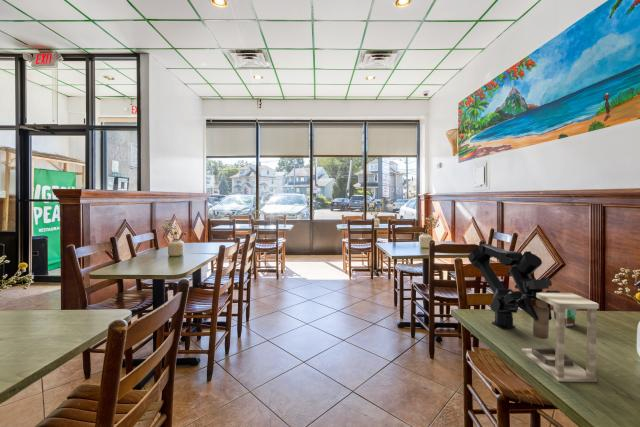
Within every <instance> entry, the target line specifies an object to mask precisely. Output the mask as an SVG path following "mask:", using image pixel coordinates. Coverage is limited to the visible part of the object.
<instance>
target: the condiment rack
mask: <svg viewBox="0 0 640 427" xmlns="http://www.w3.org/2000/svg"><path fill="white" fill-rule="evenodd" d="M536 297H537V298H539V299H541V300H543V301H545V302H547V303H549V304H550V306H552V307H553V306H555V307H556V320H555V348H554V347H553V348H550V347H549V348H548V347H546V348H544V347H542V348H541V347H531V348H521V352H522V353H523V354H524V355H525V356H527V357H528V358H529V359H531V360H532V361H533V362H534V363H535V364H536V365H538V366H539V367H540V368H542V370H544V371H545V372H546V373H547V374H549V375H550V376H551V377H552V378H553V379H555V380H556V381H557V382H572V383H573V382H576V383H577V382H581V383H582V382H583V383H585V382H588V383H589V382H590V383H593V382H594V383H595V382H596V383H597V382H598V378H597V377H596V368H597V367H596V363H597V360H596V359H597V328H598V325H597V324H598V322H597V320H598V318H597V317H598V310H599V309H600V308H599V306H600V304H599V303H597V302H595V301H593V300H590V299H589V298H585V297H584V296H581V295H578V294H576V293H573V292H560V293H545V292H540V293H536ZM565 309H577V310H587V312H586V314H587V315H586V354H585V355H586V356H585V357H586V359H585V360H586V361H585V369H584V368H583V367H581V366H579V365H578V364H577V363H575V361H574V360H573V359H572V358H570V357H569V356H568V355H566V354H565V340H566V339H565V337H566V336H565V335H566V334H565V333H566V331H565V330H566V327H565Z"/></svg>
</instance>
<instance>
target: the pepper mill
mask: <svg viewBox="0 0 640 427" xmlns="http://www.w3.org/2000/svg"><path fill="white" fill-rule="evenodd" d="M533 309H534V311H535V313H536V315H537V317H538V320H537V321H536V320H534V319H533V318H532V320H533V321H532V336H534V338H537V339H539V340H548V339H549V333H550V332H549V328H550V320H549V308H548V307H547V302H545V301H543V300H541V299H536V300H535V305H533Z"/></svg>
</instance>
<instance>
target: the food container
mask: <svg viewBox="0 0 640 427" xmlns="http://www.w3.org/2000/svg"><path fill="white" fill-rule="evenodd" d="M552 307H553V319H554V320H555V321H556V307H555V306H553V305H552ZM577 310H578V309H565V328H574V327H575V326H576V317H577V316H576V315H577Z"/></svg>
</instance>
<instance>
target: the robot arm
mask: <svg viewBox="0 0 640 427" xmlns="http://www.w3.org/2000/svg"><path fill="white" fill-rule="evenodd" d="M467 258H468V261H469V262H470V264H471V265H472V266H473V267H474V268H476V269H478V270H479V271H480V273H481V274H482V276H483V277H484V280H485V281H486V283H487V284H488V287H489V288H490V290H491V292H492V293H493V299H492V300H493V301H492V302H491V303H490V306H489V307H490V310H491V311H493V312H494V321H491V324H493V325H495V326H497V327H498V328H500V329H502V330H505V329H514V328H516V327H517V326H516V325H514V317H513V314H515V313H516V314H517V313H518V310H519V308H520V309H521V310H522V311H523V312H525V314H527V315H528V316H530V318H532V320H533V319H534V320H536V321H537V320H538V317H537V315H536V313H535V311H534V306H532V301H533V300H535V301H536V299H539V298H537V297H536V293H543V291H544V289H546V291H545V292H544V293H561V291H560V290H557V289H551V290H550V289H549V288H550V287H552V285H553V283H552V281H551V279H550V278H549V277H546V276H545V277H541V278H540V279H535V278H532V276H531V275H532V274H533V273H534V272H536V270H537V269H538V268H540V267H541V265H542V264H543V261H542V259H541V257H539V256H537V254H534V253H532V251H530V250H529V251H524V253H522V252H520V251H516V250H515V251H514V250H512V251H511V250H505V249H503V248H500V247H497V246H494V245H493V244H490V243H486V244H485V243H482V244H480V245H478V247H477V248H475V249H473V250H471V252H470V253H469V254H468V257H467ZM492 258H494V259H497V260H498V262H499V263H500V264H501V265H503V267H511V268H509V269H508V271H507V276H511V277H512V280H513V281H514V283H515V286H514V288H515V290H513V289H511V288H510V289H509V288H506V287H505V286H504V285H503V283H502V282H501V280H500V278H499V277H498V275H497V274H496V272H495V271H494V269H493V268H492V266H491V265H490V262H491V259H492ZM516 289H517V290H516ZM547 289H549V290H547ZM547 307H548V308H549V321H551V320H552V318H553V317H552V308H551V304H549V303H547Z"/></svg>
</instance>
